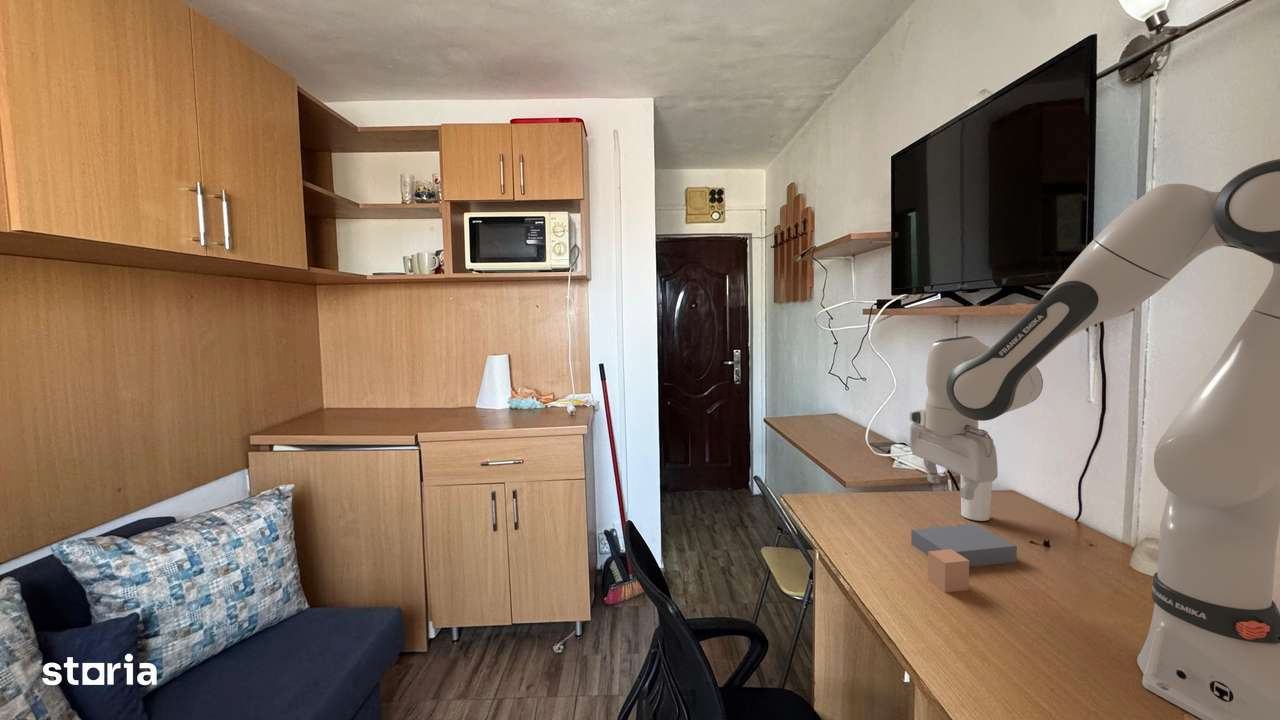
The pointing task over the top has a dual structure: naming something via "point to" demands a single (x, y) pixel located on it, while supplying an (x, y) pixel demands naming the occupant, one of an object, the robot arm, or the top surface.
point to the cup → (977, 502)
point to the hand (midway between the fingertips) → (949, 490)
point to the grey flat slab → (966, 543)
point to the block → (948, 570)
